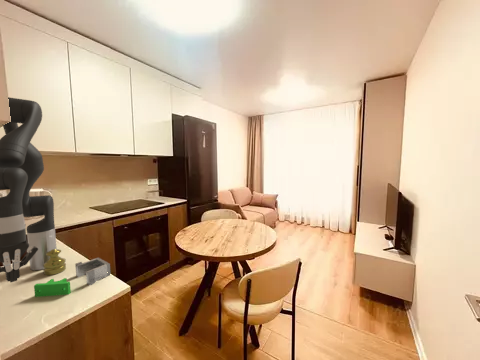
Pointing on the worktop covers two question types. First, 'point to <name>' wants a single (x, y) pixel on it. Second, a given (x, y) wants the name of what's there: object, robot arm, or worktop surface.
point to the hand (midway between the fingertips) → (13, 280)
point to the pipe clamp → (52, 288)
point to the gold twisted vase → (54, 263)
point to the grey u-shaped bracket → (93, 270)
